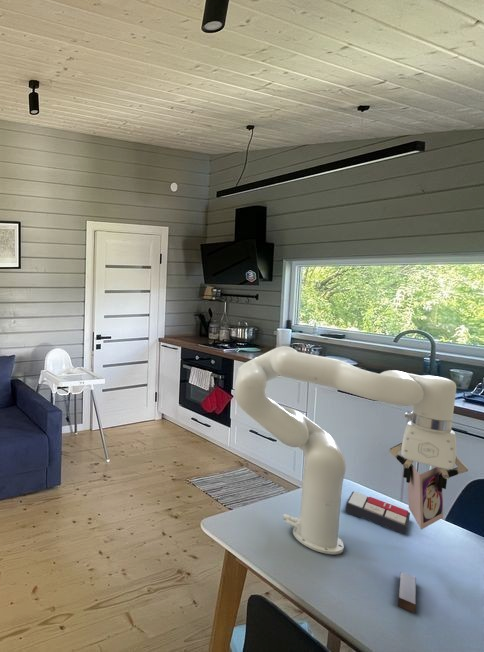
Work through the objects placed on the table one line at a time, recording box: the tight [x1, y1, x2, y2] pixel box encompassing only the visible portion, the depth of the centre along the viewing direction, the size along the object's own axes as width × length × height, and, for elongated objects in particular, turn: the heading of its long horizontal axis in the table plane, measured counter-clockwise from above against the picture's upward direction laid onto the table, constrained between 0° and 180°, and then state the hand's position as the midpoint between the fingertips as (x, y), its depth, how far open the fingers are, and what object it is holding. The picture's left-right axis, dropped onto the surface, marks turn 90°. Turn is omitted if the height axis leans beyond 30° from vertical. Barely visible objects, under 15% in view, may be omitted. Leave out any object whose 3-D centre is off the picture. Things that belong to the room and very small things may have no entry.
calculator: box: [344, 491, 411, 535], centre depth 134 cm, size 11×4×15 cm
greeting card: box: [407, 463, 444, 531], centre depth 110 cm, size 11×7×15 cm, turn 112°
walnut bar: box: [397, 571, 417, 614], centre depth 102 cm, size 3×12×2 cm, turn 135°
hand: (423, 484), depth 109 cm, fingers closed on greeting card, 5 cm apart
